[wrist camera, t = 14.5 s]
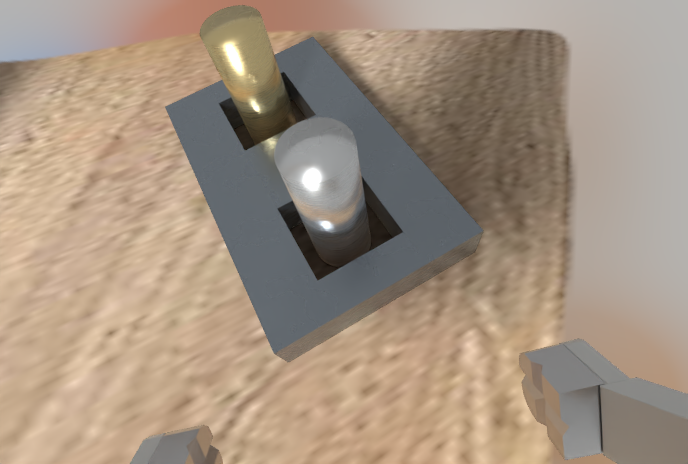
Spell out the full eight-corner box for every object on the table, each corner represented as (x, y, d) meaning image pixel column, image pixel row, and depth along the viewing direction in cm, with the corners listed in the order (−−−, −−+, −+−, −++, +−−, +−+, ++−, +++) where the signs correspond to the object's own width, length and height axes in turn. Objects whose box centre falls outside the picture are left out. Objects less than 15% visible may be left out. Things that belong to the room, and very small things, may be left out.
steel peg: (331, 277, 26) (295, 197, 17) (305, 233, 28) (261, 141, 19) (382, 248, 26) (372, 156, 17) (353, 207, 28) (331, 105, 19)
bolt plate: (288, 362, 23) (221, 320, 15) (183, 132, 34) (108, 28, 25) (474, 251, 25) (514, 155, 16) (319, 65, 36) (292, -53, 27)
